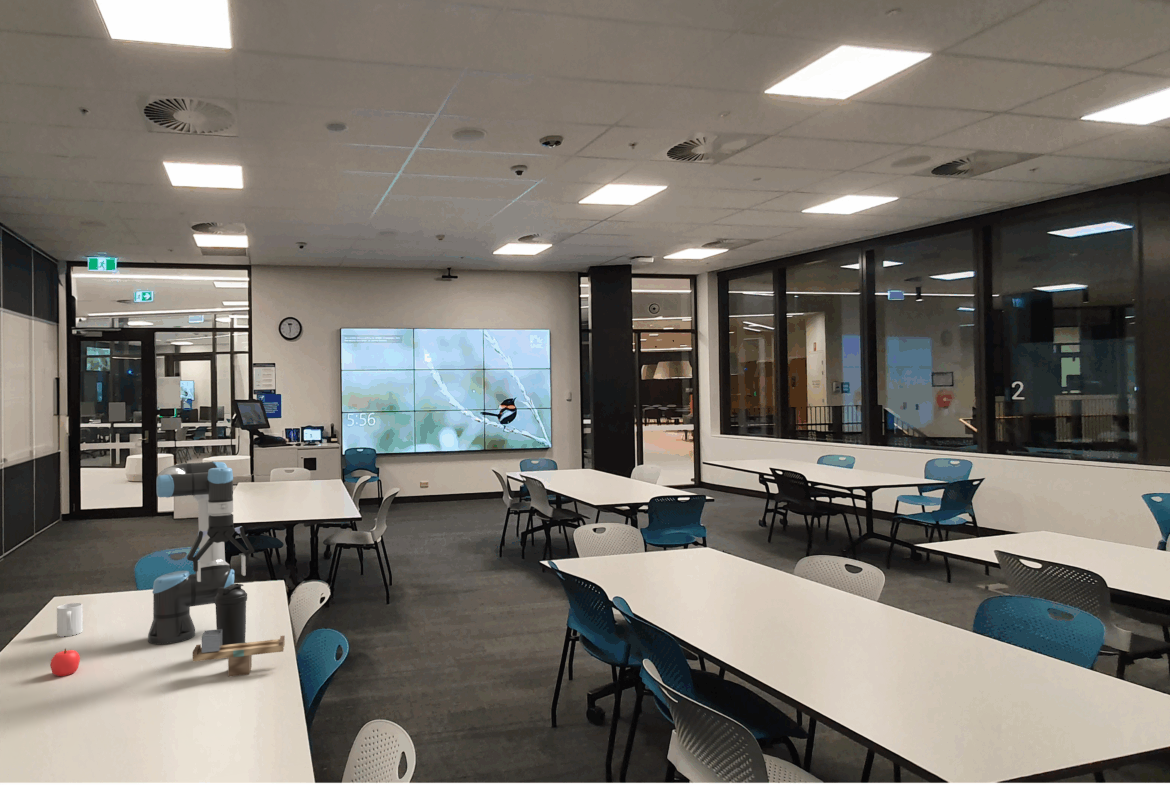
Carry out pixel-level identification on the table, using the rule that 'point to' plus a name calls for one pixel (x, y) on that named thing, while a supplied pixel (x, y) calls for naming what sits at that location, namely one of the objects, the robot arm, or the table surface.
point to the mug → (69, 619)
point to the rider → (212, 640)
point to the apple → (65, 662)
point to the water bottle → (231, 613)
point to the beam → (240, 654)
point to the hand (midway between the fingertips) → (221, 578)
